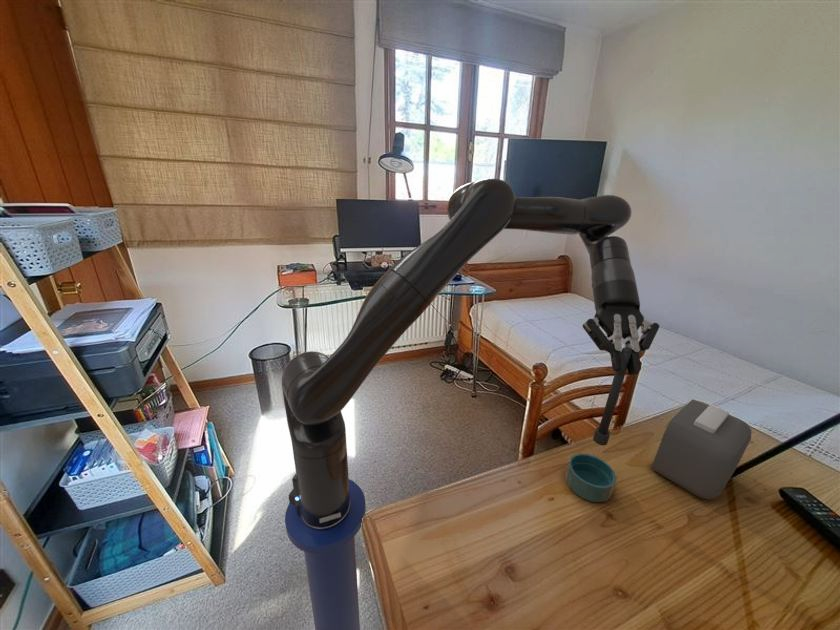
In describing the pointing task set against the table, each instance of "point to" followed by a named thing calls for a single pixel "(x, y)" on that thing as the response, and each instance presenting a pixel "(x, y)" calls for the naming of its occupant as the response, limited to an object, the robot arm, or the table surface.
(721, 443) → the alarm clock
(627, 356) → the long dark rod
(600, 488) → the bowl
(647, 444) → the table surface
